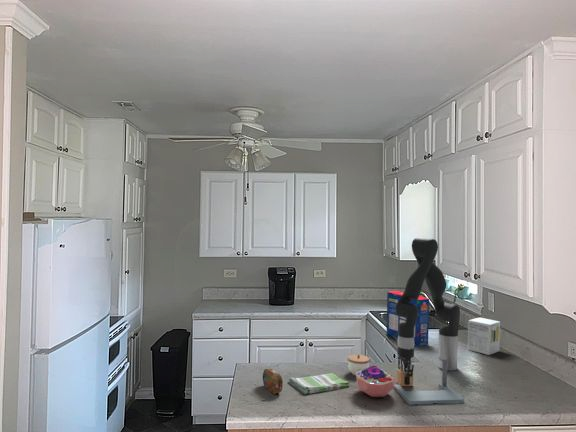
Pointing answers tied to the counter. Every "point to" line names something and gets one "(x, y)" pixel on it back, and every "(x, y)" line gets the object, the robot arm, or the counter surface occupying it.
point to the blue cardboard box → (395, 320)
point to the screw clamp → (431, 392)
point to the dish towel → (318, 383)
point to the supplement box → (484, 335)
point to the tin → (272, 381)
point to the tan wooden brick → (403, 378)
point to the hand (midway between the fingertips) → (404, 382)
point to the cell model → (375, 381)
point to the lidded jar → (357, 362)
